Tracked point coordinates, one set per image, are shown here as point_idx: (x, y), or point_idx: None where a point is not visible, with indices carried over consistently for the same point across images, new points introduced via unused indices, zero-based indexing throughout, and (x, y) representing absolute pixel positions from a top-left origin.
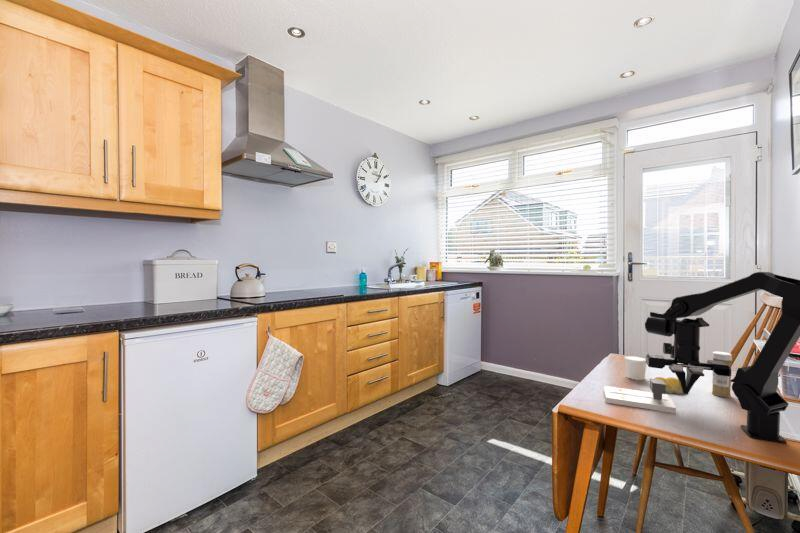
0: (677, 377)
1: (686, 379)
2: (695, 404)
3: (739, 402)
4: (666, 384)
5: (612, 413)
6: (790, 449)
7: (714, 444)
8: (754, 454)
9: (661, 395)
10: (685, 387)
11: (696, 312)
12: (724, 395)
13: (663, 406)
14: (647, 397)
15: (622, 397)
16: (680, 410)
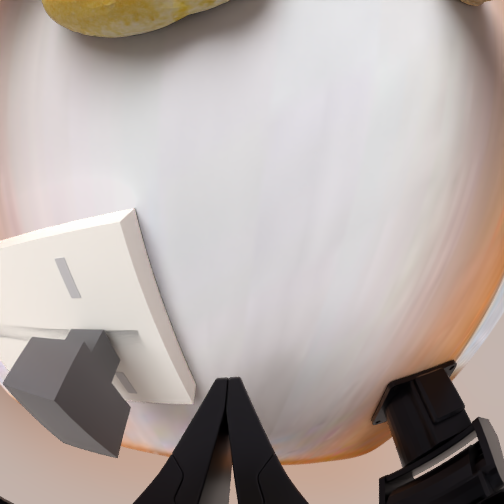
0: (154, 482)
1: (238, 485)
2: (307, 204)
3: (379, 493)
4: (106, 3)
5: None
6: None
7: None
8: (332, 457)
9: (111, 376)
10: (228, 454)
11: None
12: (470, 1)
13: (148, 401)
14: (64, 337)
15: None
16: (211, 350)
